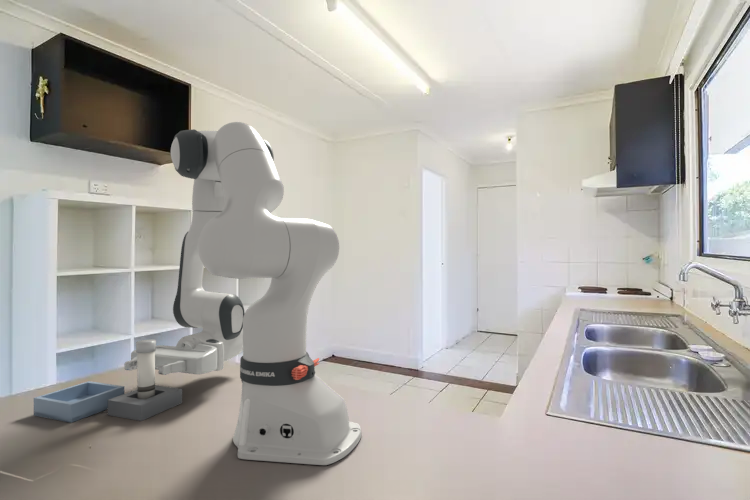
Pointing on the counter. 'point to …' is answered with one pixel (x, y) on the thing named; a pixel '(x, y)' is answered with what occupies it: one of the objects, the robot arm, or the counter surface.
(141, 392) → the fuse
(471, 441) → the counter surface
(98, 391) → the parts tray
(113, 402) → the block
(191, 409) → the counter surface
